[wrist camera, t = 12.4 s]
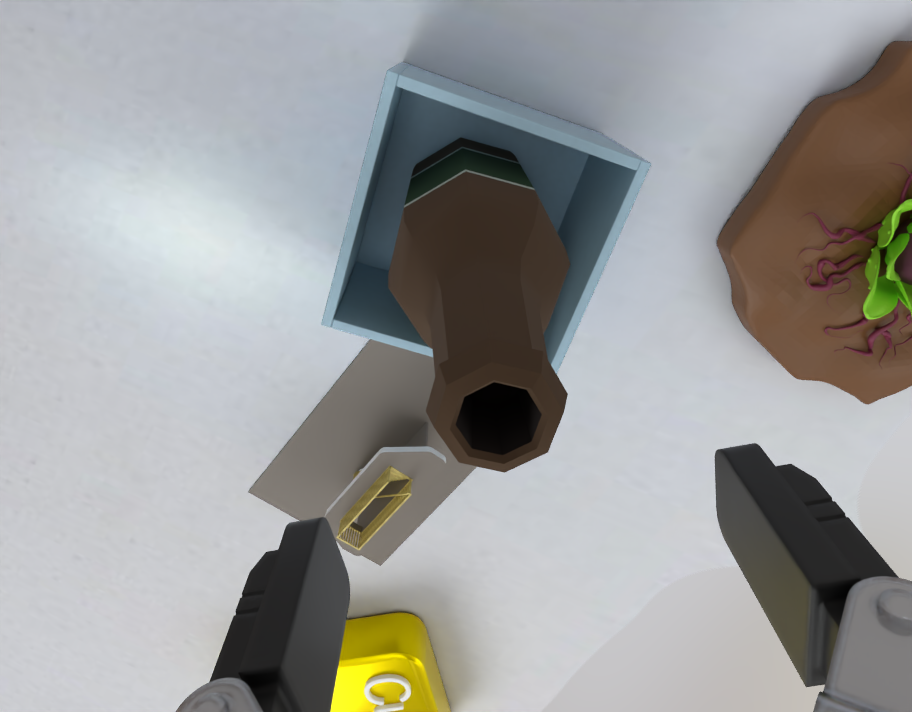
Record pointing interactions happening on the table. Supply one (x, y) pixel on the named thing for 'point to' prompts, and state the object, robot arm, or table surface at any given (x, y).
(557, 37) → the table surface
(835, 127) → the plant
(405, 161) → the case
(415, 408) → the platform
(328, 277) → the table surface
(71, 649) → the table surface
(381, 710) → the element tile
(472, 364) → the beer bottle
